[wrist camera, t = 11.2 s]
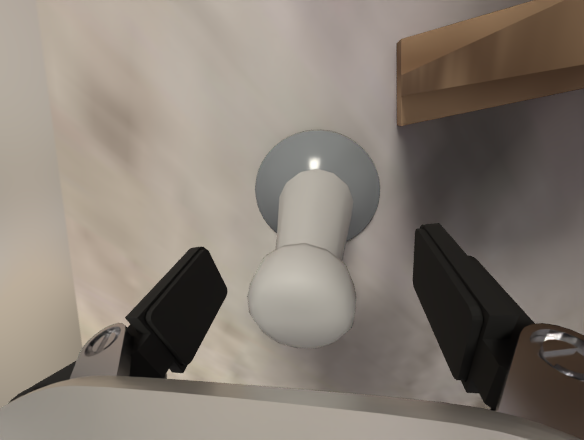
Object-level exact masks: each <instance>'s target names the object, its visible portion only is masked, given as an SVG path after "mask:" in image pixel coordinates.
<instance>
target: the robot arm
mask: <svg viewBox="0 0 584 440" xmlns="http://www.w3.org/2000/svg"><path fill="white" fill-rule="evenodd" d="M413 285H414V289H415V291H416V293H417V296H418V298H419V300H420V302H421V305H422V307H423V309H424V312H425V314H426V316H427V318H428V321H429V323H430V325H431V328H432V330H433V332H434V334H435V337H436V339H437V341H438V343H439V346H440V348H441V350H442V353H443V355H444V357H445V359H446V362H447V364H448V366H449V368H450V371H451V373H452V375H453V377H454V378H455V379H456V380H461V382H462V384H463V386H464V388H465V390H466V392H467V393H480V395H481V397H482V399H483V401H484V403H485V404H486V405H488V406H489V407H490V409H489V410H488V409H483V408H477V407H471V406H464V405H457V404H451V403H444V402H435V401H425V400H415V399H405V398H396V397H386V396H376V395H364V394H352V393H340V392H328V391H316V390H304V389H292V388H280V387H267V386H255V385H242V384H229V383H216V382H203V381H189V380H175V379H167V374H166V373H167V371H168V369H170V370H171V371H172V372H175V373H183V372H184V371H185V369H186V367H187V365H188V364H189V363H190V362H191V361H192V360H193V358H194V356H195V354H196V352H197V350H198V348H199V346H200V345H201V343H202V341H203V339H204V337H205V335H206V333H207V331H208V330H209V328H210V326H211V324H212V322H213V320H214V318H215V316H216V314H217V313H218V311H219V309H220V307H221V305H222V303H223V301H224V299H225V298H226V295H227V287H226V285H225V283H224V281H223V279H222V277H221V275H220V273H219V271H218V269H217V267H216V265H215V263H214V261H213V259H212V257H211V255H210V253H209V251H208V250H207V249H205V248H204V247H195V248H191V249H189V250H188V251H187V252H186V254H185V255H184V256H183V257H182V258H181V259H180V260H179V261H178V262H177V263H176V264H175V265H174V266H173V267H172V268H171V269H170V271H169V272H168V273H167V274H166V275H165V276H164V277H163V278H162V279H161V280H160V281H159V282H158V283H157V284H156V285H155V286H154V288H153V289H152V290H151V291H150V292H149V293H148V294H147V295H146V296H145V297H144V298H143V299H142V300H141V301H140V302H139V304H138V305H137V306H136V307H135V308H134V309H133V310H132V311H131V312H130V313H129V314H128V315H127V316H126V317H125V318H126V319H127V321H128V322H129V323H130V325H129V327H128V328H127V327H126V326H125V325H124V324H123V323H116V324H113V325H110V326H108V327H106V328H104V329H103V330H101V331H99V332H98V333H97V334H95V335H94V336H93V337H92V338H91V339H90V340H89V341H88V342H87V343H86V344H85V345H84V346H83V348H82V349H81V352H80V353H79V356H78V359H77V361H75V362H73V363H72V364H70V365H69V366H66V367H65V368H63V369H61V370H60V371H58V372H56V373H54V374H53V375H51V376H50V377H48V378H46V379H44V380H43V381H40V382H39V383H37V384H35V385H34V386H32V387H30V388H29V389H27V390H25V391H23V392H21V393H20V394H18V395H17V396H16V397H15V398H13V399H12V400H11V401H10V402H9V403H8V404H7V405H5V406H3V407H2V408H0V440H584V335H582V334H579V333H577V332H575V331H573V330H570V329H567V328H564V327H560V326H557V325H551V324H544V323H540V324H535V323H534V322H533V321H532V320H531V319H530V318H529V317H528V315H527V314H526V313H525V312H524V311H523V310H522V309H521V308H520V307H519V306H518V304H517V303H516V302H515V301H514V300H513V299H512V298H511V297H510V296H509V295H508V293H507V292H506V291H505V290H504V289H503V288H502V287H501V286H500V285H499V283H498V282H497V281H496V280H495V279H494V278H493V277H492V276H491V275H490V274H489V272H488V271H487V270H486V269H485V268H484V267H483V266H482V265H481V264H480V263H479V261H478V260H477V259H475V258H474V257H472V256H467V255H466V253H465V252H464V251H463V250H462V249H461V248H460V246H459V245H458V244H457V243H456V242H455V241H454V240H453V238H452V237H451V236H450V235H449V234H448V233H447V232H446V230H445V229H444V228H443V227H442V226H441V225H440V224H439V223H436V224H426V225H421V227H420V229H416V231H415V246H414V266H413Z"/></svg>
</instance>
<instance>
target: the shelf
mask: <svg viewBox="0 0 584 440" xmlns="http://www.w3.org/2000/svg"><path fill="white" fill-rule="evenodd" d="M582 88H584V0H533V1H530V2H526V3H523V4H520V5H516V6H513V7H509V8H506V9H503V10H499V11H496V12H492V13H489V14H485V15H482V16H479V17H475V18H472V19H468V20H465V21H462V22H458V23H455V24H451V25H448V26H445V27H441V28H438V29H434V30H431V31H428V32H424V33H421V34H417V35H414V36H410V37H407V38H404V39H401V40H400V41H399V42H398V43H397V125H399V126H404V125H408V124H413V123H418V122H423V121H428V120H433V119H437V118H442V117H447V116H452V115H457V114H462V113H466V112H471V111H476V110H481V109H486V108H491V107H495V106H500V105H505V104H510V103H515V102H520V101H524V100H529V99H534V98H539V97H544V96H549V95H553V94H558V93H563V92H568V91H573V90H578V89H582Z"/></svg>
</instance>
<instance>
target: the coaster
mask: <svg viewBox="0 0 584 440" xmlns="http://www.w3.org/2000/svg"><path fill="white" fill-rule="evenodd" d="M314 169H320V170H324V171H327V172H331V173H334V174H335V175H336V176H337V177H339V178H340V179H341V180H342V181H343V182H344V183H345V184H347V186H348V188H349V191H350V193H351V196H352V199H353V207H352V215H351V220H350V225H349V230H348V235H347V239H346V241H348V240H350V239H352V238H353V237H355V236H356V235H357V234H359V233H360V232H361V231H362V230H363V229H364V228H365V227H366V226H367V225H368V223H369V222H370V220H371V219H372V217H373V215H374V213H375V211H376V209H377V206H378V202H379V196H380V183H379V177H378V173H377V170H376V168H375V166H374V163H373V162H372V160H371V158H370V157H369V155H368V154H367V153H366V152H365V151H364V150H363V148H362V147H360V146H359V145H358V144H357V143H356V142H354V141H353V140H351V139H350V138H348V137H346V136H344V135H342V134H339V133H336V132H332V131H326V130H309V131H303V132H300V133H297V134H294V135H292V136H290V137H287V138H286V139H284V140H283V141H281V142H280V143H278V144H277V145H276V146H275V147H274V148H273V149H272V150H271V151H270V152H269V153H268V154H267V156H266V157H265V159H264V160H263V162H262V164H261V166H260V168H259V171H258V174H257V178H256V186H255V192H256V200H257V204H258V207H259V210H260V212H261V214H262V216H263V218H264V220H265V221H266V222H267V224H268V225H269V226H270V227H271V228H272V229H273V230H274V231H275V232H276V233H277V227H278V212H279V197H280V195H281V193H282V190H283V188H284V186H285V184H286V183H287V182H288V181H289V180H291V179H292V178H293V177H295V176H296V175H297V174H299V173H300V172H303V171H308V170H314Z"/></svg>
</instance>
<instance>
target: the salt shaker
mask: <svg viewBox="0 0 584 440" xmlns="http://www.w3.org/2000/svg"><path fill="white" fill-rule="evenodd" d="M352 207H353V199H352V196H351V193H350V191H349V188H348V186H347V184H345V183H344V182H343V181H342V180H341V179H340V178H339V177H337V176H336V175H335V174H334V173H331V172H327V171H324V170H320V169H314V170H308V171H303V172H300V173H299V174H297V175H296V176H295V177H293V178H292V179H291V180H289V181H288V182H287V183H286V184H285V186H284V188H283V190H282V193H281V195H280V197H279V212H278V227H277V240H276V249H275V251H273V252H271V253H269V254H268V255H266V256H265V257H264V258H263V260H262V262H261V263H260V265H259V267H258V269H257V271H256V273H255V275H254V277H253V279H252V281H251V283H250V286H249V291H248V296H247V297H248V307H249V313H250V315H251V316H252V318H253V319H254V321H255V322H256V324H257V325H258V326H259V328H260V329H261V330H262V332H263V333H264V334H266V335H267V336H269V337H271V338H272V339H274V340H275V341H277V342H278V343H281V344H284V345H288V346H291V347H295V348H313V349H316V348H319V347H322V346H325V345H328V344H331V343H333V342H335V341H337V340H338V339H339V338H340V337H342V336H343V335H344V334H345V333H346V332H347V331H348V330H349V329H350V328H352V325H353V319H354V314H355V307H356V292H355V288H354V284H353V281H352V279H351V277H350V274H349V272H348V269H347V267H346V265H345V264H344V263H343V262H342V258H343V254H344V249H345V244H346V239H347V235H348V230H349V225H350V220H351V215H352Z"/></svg>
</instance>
